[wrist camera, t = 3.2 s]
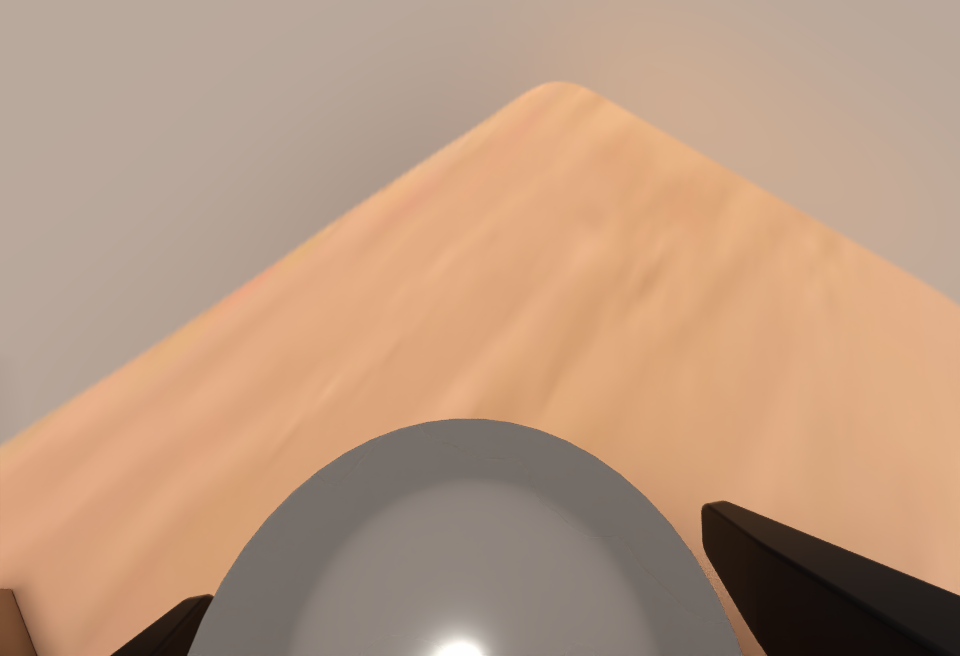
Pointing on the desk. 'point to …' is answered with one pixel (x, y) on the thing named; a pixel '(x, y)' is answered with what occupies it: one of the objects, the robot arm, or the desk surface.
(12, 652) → the brown picture frame
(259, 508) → the desk surface
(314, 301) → the desk surface
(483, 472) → the chrome banded cylinder
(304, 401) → the desk surface
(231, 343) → the desk surface
